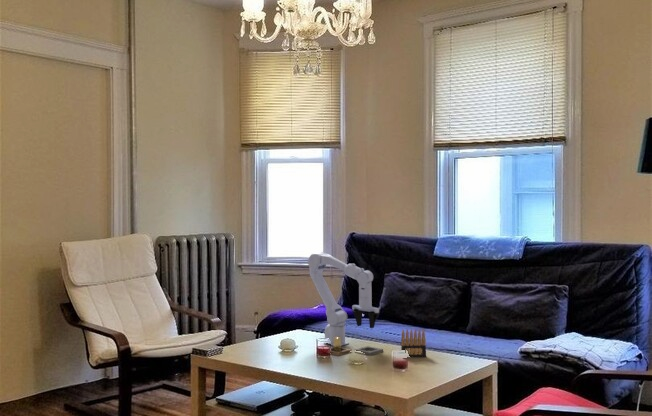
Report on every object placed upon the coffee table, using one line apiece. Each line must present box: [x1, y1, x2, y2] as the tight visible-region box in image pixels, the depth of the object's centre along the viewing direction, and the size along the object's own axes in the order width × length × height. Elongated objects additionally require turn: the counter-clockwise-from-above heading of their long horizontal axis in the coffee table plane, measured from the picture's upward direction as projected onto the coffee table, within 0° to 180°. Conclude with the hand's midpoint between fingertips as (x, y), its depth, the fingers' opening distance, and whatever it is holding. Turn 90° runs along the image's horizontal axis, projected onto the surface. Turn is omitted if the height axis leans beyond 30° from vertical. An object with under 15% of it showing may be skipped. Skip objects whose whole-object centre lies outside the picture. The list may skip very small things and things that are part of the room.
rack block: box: [330, 346, 352, 357], centre depth 291 cm, size 9×9×1 cm
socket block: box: [354, 345, 384, 356], centre depth 291 cm, size 9×9×1 cm
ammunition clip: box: [400, 328, 427, 358], centre depth 282 cm, size 11×2×12 cm, turn 91°
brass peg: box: [333, 337, 342, 352], centre depth 291 cm, size 3×3×6 cm
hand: (365, 326), depth 300 cm, fingers open, 7 cm apart
